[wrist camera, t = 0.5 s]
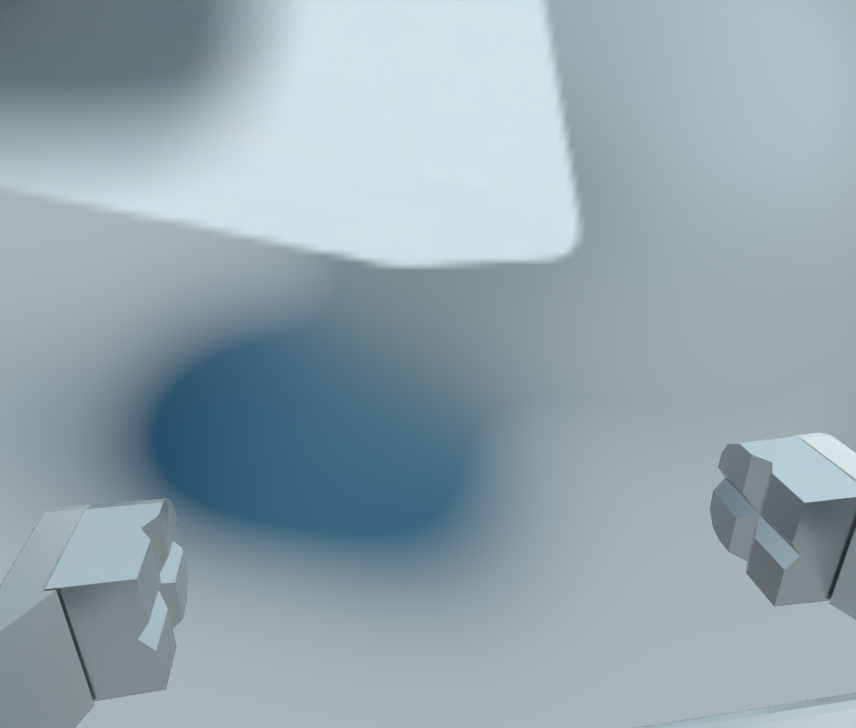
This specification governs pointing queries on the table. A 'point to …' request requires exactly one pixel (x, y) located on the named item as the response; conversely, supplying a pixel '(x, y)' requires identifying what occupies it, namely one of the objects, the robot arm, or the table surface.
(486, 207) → the table surface
